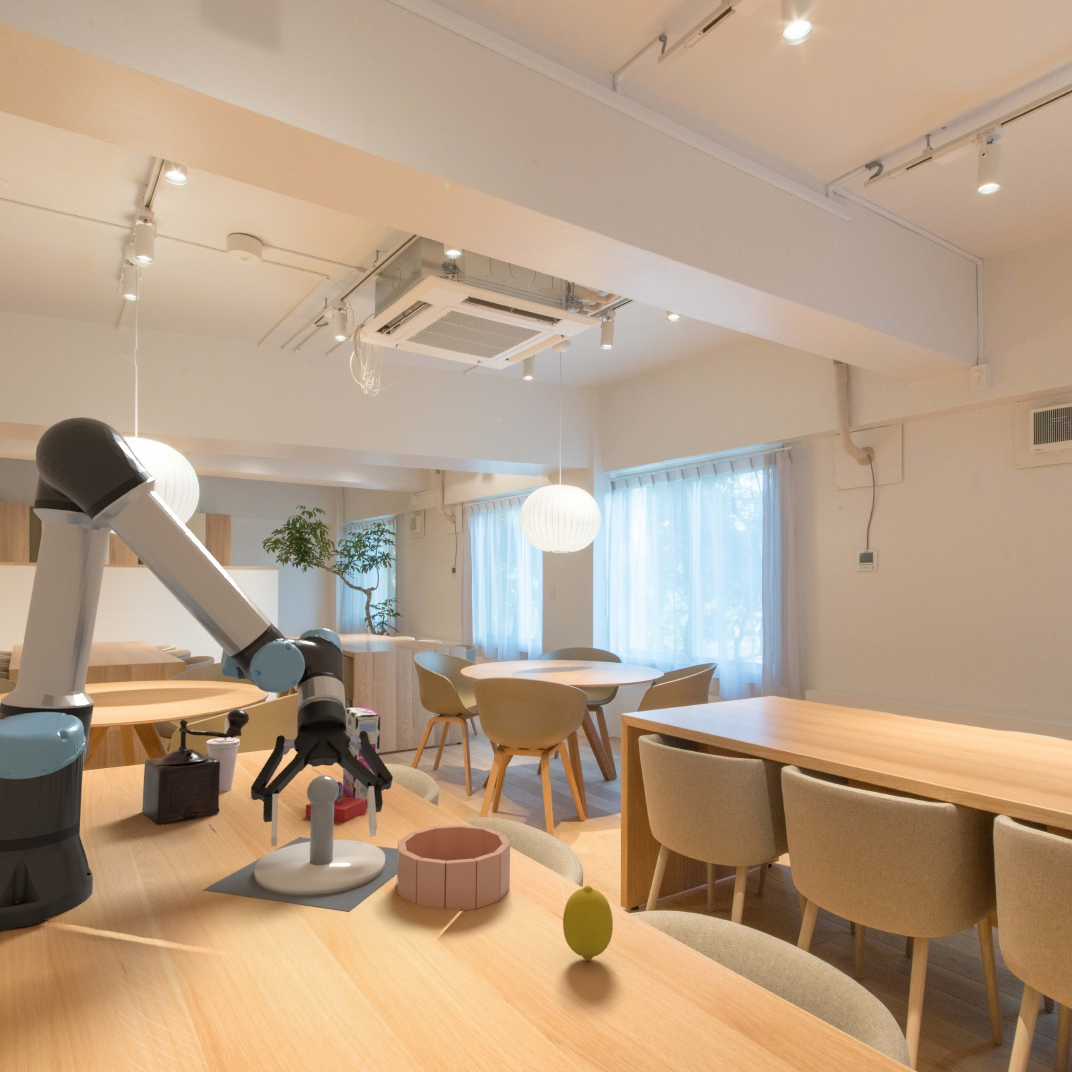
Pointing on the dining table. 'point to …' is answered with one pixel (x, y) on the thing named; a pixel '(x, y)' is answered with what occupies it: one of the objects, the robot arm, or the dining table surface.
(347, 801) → the red rectangular block
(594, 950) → the lemon
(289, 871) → the lid
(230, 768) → the smoothie
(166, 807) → the coffee grinder
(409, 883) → the bowl
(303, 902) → the mat
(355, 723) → the candy bar box
